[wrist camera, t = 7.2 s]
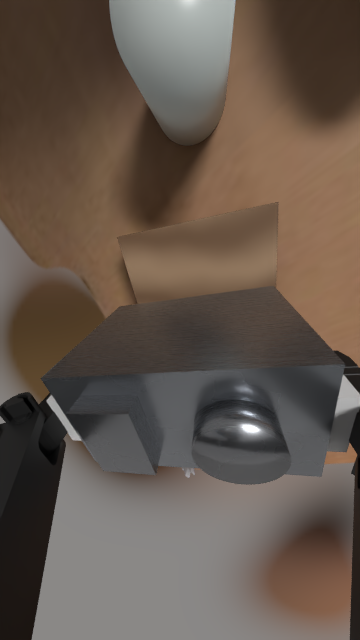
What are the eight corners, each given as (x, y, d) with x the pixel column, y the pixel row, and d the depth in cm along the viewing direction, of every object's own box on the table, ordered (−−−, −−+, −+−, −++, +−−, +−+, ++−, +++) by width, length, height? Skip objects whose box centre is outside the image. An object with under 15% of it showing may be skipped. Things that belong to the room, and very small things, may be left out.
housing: (141, 367, 16) (83, 485, 9) (119, 306, 13) (17, 400, 6) (272, 360, 14) (335, 511, 7) (273, 285, 11) (372, 393, 4)
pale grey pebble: (146, 60, 15) (89, -73, 8) (222, 27, 14) (231, -164, 7) (163, 154, 18) (130, 112, 11) (229, 134, 17) (240, 72, 10)
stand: (132, 234, 22) (117, 236, 18) (266, 205, 19) (278, 201, 15) (161, 339, 28) (153, 356, 24) (265, 330, 25) (274, 349, 21)
